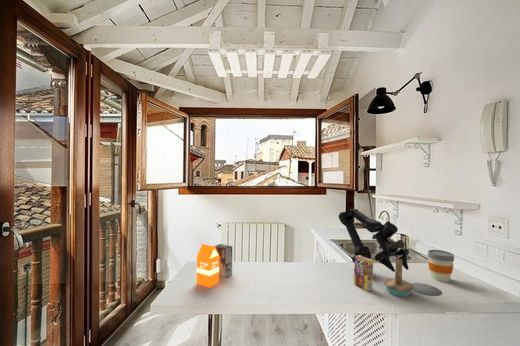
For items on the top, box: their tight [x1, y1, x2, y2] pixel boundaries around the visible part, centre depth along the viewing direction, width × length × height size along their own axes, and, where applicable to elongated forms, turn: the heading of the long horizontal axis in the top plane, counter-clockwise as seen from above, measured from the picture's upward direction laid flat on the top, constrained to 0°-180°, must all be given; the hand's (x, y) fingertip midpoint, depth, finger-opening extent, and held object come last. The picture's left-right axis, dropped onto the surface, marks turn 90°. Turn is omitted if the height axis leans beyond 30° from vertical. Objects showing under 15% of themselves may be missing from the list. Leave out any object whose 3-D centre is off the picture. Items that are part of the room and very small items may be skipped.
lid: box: [383, 258, 413, 291], centre depth 136 cm, size 13×13×13 cm
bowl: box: [385, 285, 412, 298], centre depth 136 cm, size 10×10×4 cm
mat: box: [410, 282, 443, 297], centre depth 139 cm, size 15×15×1 cm
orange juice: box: [196, 243, 220, 288], centre depth 142 cm, size 8×9×20 cm
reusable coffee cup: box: [427, 249, 455, 283], centre depth 153 cm, size 12×12×15 cm
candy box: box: [353, 255, 374, 291], centre depth 141 cm, size 9×4×15 cm, turn 26°
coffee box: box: [213, 243, 233, 278], centre depth 154 cm, size 9×6×16 cm
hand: (401, 270), depth 134 cm, fingers open, 9 cm apart
